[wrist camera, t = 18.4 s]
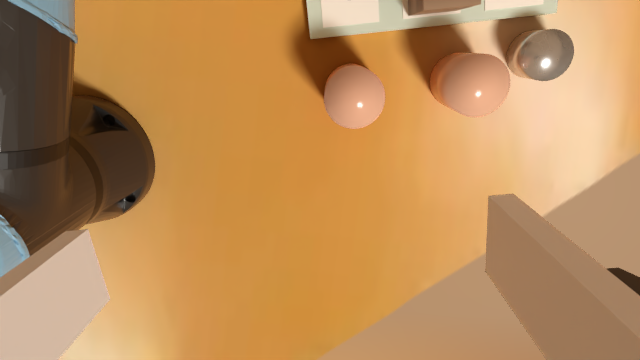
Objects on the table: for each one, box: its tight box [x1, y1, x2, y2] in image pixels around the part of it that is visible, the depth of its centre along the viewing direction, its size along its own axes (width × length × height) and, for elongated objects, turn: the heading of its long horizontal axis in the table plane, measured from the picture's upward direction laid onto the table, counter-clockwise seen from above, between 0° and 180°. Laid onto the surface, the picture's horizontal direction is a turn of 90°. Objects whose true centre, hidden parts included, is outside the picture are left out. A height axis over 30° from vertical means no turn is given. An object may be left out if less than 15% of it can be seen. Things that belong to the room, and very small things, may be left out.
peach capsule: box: [324, 64, 385, 129], centre depth 42 cm, size 6×6×7 cm
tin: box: [507, 29, 574, 81], centre depth 42 cm, size 5×5×4 cm
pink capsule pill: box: [430, 53, 510, 117], centre depth 41 cm, size 6×6×7 cm
